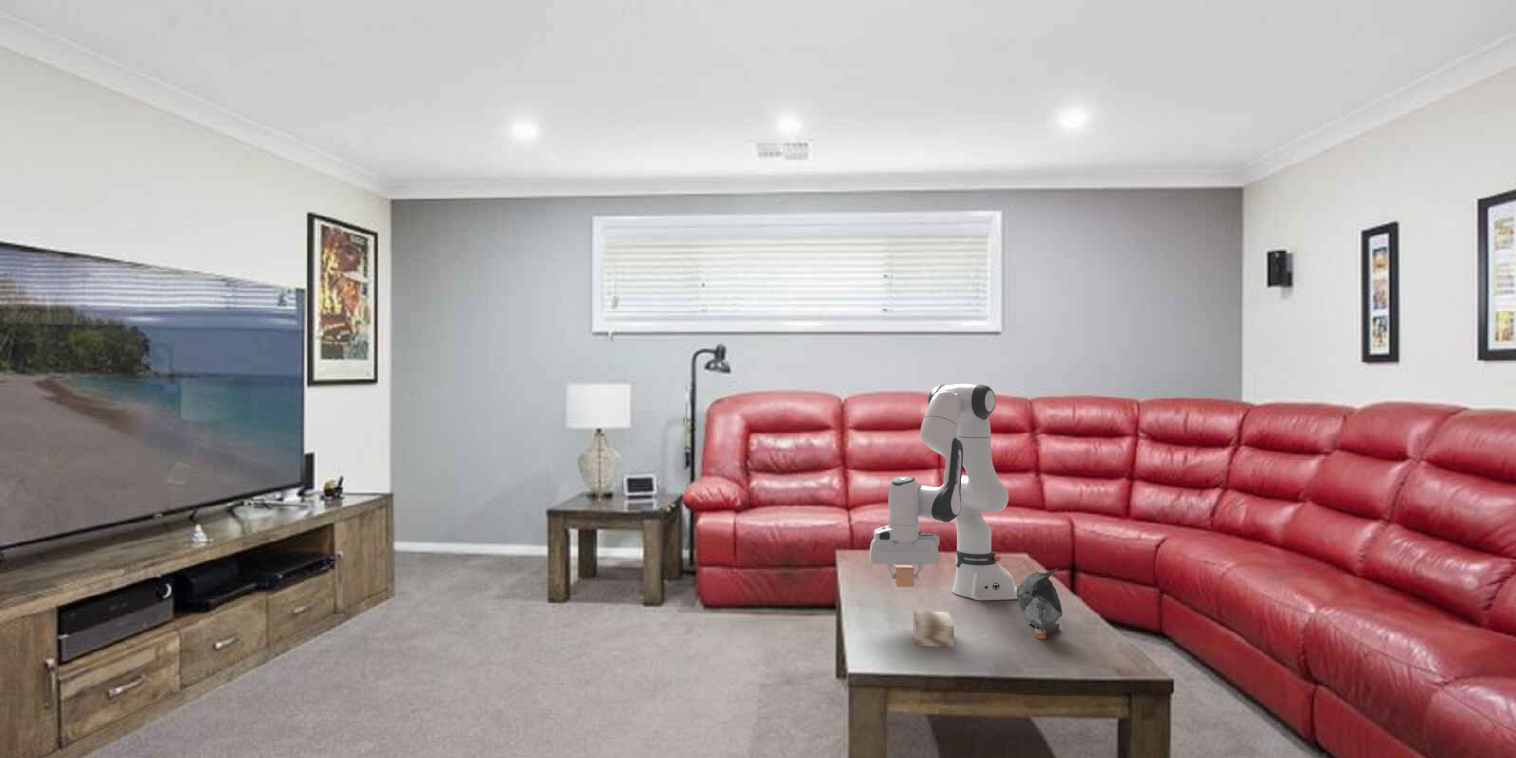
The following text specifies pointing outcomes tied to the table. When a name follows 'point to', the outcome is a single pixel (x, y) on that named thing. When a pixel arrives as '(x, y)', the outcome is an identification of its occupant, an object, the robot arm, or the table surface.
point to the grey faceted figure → (1040, 603)
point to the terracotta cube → (904, 576)
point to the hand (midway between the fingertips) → (904, 578)
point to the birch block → (933, 629)
